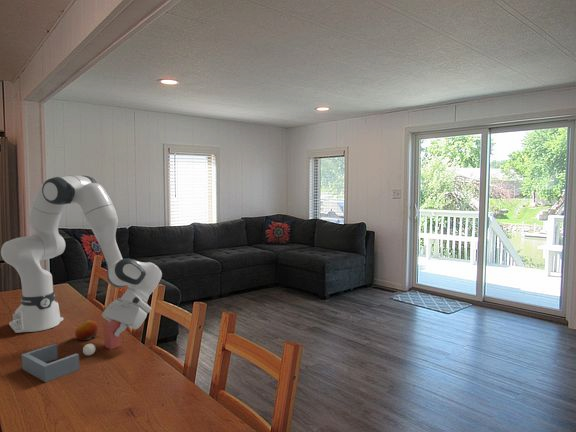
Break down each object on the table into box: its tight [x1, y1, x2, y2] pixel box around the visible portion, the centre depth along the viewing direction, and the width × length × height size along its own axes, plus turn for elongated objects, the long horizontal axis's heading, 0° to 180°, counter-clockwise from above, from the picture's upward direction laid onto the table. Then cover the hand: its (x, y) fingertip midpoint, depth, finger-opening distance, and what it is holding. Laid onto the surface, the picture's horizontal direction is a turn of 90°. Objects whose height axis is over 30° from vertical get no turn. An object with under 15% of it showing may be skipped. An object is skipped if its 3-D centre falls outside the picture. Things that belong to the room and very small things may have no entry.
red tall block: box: [103, 320, 122, 350], centre depth 151 cm, size 4×4×9 cm
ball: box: [82, 343, 96, 356], centre depth 144 cm, size 4×4×4 cm
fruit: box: [74, 319, 99, 341], centre depth 159 cm, size 8×8×8 cm
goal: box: [20, 343, 81, 383], centre depth 133 cm, size 16×10×5 cm, turn 55°
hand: (110, 334), depth 150 cm, fingers closed on red tall block, 4 cm apart
